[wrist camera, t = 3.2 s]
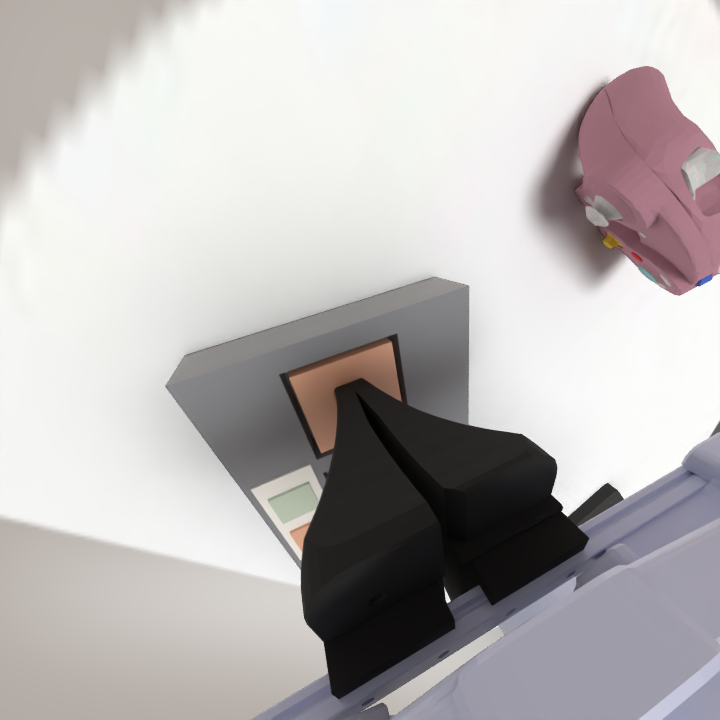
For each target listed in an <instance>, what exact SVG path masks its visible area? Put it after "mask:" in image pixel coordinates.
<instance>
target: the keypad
mask: <svg viewBox="0 0 720 720" xmlns="http://www.w3.org/2000/svg"><path fill="white" fill-rule="evenodd" d="M385 337H387V338H388V339H389V340H390V341H391V342H392V346H393V352H394V358H395V365H396V371H397V377H398V383H399V389H400V395H401V401H402V402H403V403H405V404H407V405H409V406H411V407H414V408H416V409H418V410H421V411H423V412H426V413H428V414H431V415H434V416H437V417H440V418H443V419H447V420H450V421H454V422H457V423H461V424H465V425H468V383H469V286H468V285H465V284H461V283H457V282H453V281H449V280H445V279H442V278H438V277H433V278H430V279H427V280H424V281H420V282H417V283H414V284H411V285H408V286H405V287H401V288H398V289H395V290H392V291H389V292H386V293H382V294H379V295H376V296H373V297H370V298H366V299H363V300H360V301H357V302H354V303H351V304H347V305H344V306H341V307H338V308H335V309H332V310H328V311H325V312H322V313H319V314H316V315H312V316H309V317H306V318H303V319H300V320H297V321H293V322H290V323H287V324H284V325H281V326H278V327H274V328H271V329H268V330H265V331H262V332H259V333H255V334H252V335H249V336H246V337H243V338H239V339H236V340H233V341H230V342H227V343H224V344H220V345H217V346H214V347H211V348H208V349H205V350H201V351H198V352H195V353H192V354H189V355H185V356H184V358H183V359H182V361H181V362H180V364H179V365H178V367H177V369H176V370H175V372H174V373H173V375H172V376H171V378H170V380H169V381H168V383H167V384H166V386H165V387H166V388H167V389H168V391H169V392H170V393H171V395H172V396H173V398H174V399H175V400H176V402H177V403H178V404H179V406H180V407H181V408H182V410H183V411H184V412H185V414H186V415H187V417H188V418H189V419H190V421H191V422H192V423H193V425H194V426H195V427H196V429H197V430H198V431H199V433H200V434H201V435H202V437H203V438H204V440H205V441H206V442H207V444H208V445H209V446H210V448H211V449H212V450H213V452H214V453H215V454H216V456H217V457H218V459H219V460H220V461H221V463H222V464H223V465H224V467H225V468H226V469H227V471H228V472H229V473H230V475H231V476H232V477H233V479H234V480H235V482H236V483H237V484H238V486H239V487H240V488H241V490H242V491H243V492H244V494H245V495H246V496H247V498H248V499H249V501H250V502H251V503H252V505H253V506H254V507H255V509H256V510H257V511H258V513H259V514H260V515H261V517H262V518H263V519H264V521H265V522H266V524H267V525H268V526H269V528H270V529H271V530H272V532H273V533H274V534H275V536H276V537H277V538H278V540H279V541H280V543H281V544H282V545H283V547H284V548H285V549H286V551H287V552H288V553H289V555H290V556H291V557H292V559H293V560H294V561H295V563H296V564H297V566H298V567H299V568H300V570H301V561H302V550H303V541H304V537H305V535H306V532H307V530H308V527H309V525H310V523H311V520H312V518H313V516H314V513H315V511H316V508H317V506H318V503H319V500H320V497H321V494H322V491H323V488H324V485H325V482H326V479H327V476H328V472H329V468H330V464H331V460H332V455H333V450H334V448H333V449H330V450H328V451H326V452H323V453H321V452H320V450H319V447H318V445H317V442H316V440H315V438H314V435H313V433H312V431H311V428H310V426H309V424H308V421H307V419H306V417H305V414H304V412H303V410H302V407H301V405H300V403H299V400H298V398H297V395H296V393H295V391H294V388H293V386H292V384H291V381H290V379H289V374H288V371H291V370H294V369H296V368H299V367H302V366H305V365H308V364H311V363H314V362H316V361H319V360H322V359H325V358H328V357H331V356H334V355H336V354H339V353H342V352H345V351H348V350H351V349H354V348H356V347H359V346H362V345H365V344H368V343H371V342H374V341H376V340H379V339H382V338H385Z"/></svg>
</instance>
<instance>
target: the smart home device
mask: <svg viewBox="0 0 720 720" xmlns="http://www.w3.org/2000/svg"><path fill="white" fill-rule="evenodd" d="M623 500H624V499H623V497H622V496H621V494H620V493H619V492H618V490H617V489H615V488H614V487H612V486H611V485H610V484H608V483H607V484H605V485H604V486H602V487H601V488H600V489H599V490H598V491H597V492H596V493H594V494H593V495H592V496H591V497H590V498H589V499H588V500H587V501H585V502H584V503H583V504H582V505H581V506H580V507H579V508H578V509H576V510H575V511H574V512H573V513H572V514H571V515H570V516H569V517H568V518H569V519H570V520H571V521H572V522H573V523H574V524H575V525H576V526H577V527H578V526H580V525H582V524H583V523H585V522H587V521H589V520H590V519H592V518H594V517H595V516H597V515H599V514H600V513H602V512H604V511H606V510H607V509H609V508H611V507H612V506H614V505H616V504H617V503H619V502H621V501H623Z"/></svg>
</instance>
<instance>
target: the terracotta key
mask: <svg viewBox="0 0 720 720" xmlns="http://www.w3.org/2000/svg"><path fill="white" fill-rule="evenodd" d="M288 374H289V379H290V381H291V384H292V386H293V388H294V391H295V393H296V395H297V398H298V400H299V403H300V405H301V407H302V410H303V412H304V414H305V417H306V419H307V421H308V424H309V426H310V428H311V431H312V433H313V435H314V438H315V440H316V442H317V445H318V447H319V450H320V452H321V453H323V452H326V451H328V450H330V449H333V448H334V444H335V438H336V427H337V400H336V395H335V392H334V390H335V388H336V387H339V386H341V385H344V384H347V383H349V382H352V381H355V380H357V379H360V378H363V379H365V380H366V381H368V382H369V383H371V384H372V385H374V386H375V387H377V388H378V389H380V390H382V391H383V392H385V393H387V394H388V395H390V396H392V397H394V398H395V399H397V400H399V401H401V395H400V389H399V383H398V377H397V371H396V365H395V358H394V352H393V346H392V342H391V341H390V340H389V339H388V338H387V337H385V338H382V339H379V340H376V341H374V342H371V343H368V344H365V345H362V346H359V347H356V348H354V349H351V350H348V351H345V352H342V353H339V354H336V355H334V356H331V357H328V358H325V359H322V360H319V361H316V362H314V363H311V364H308V365H305V366H302V367H299V368H296V369H294V370H291V371H288ZM401 402H402V401H401Z"/></svg>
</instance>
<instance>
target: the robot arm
mask: <svg viewBox="0 0 720 720" xmlns="http://www.w3.org/2000/svg"><path fill="white" fill-rule="evenodd" d="M334 392H335V395H336V400H337V427H336V438H335V444H334V450H333V455H332V460H331V464H330V468H329V472H328V476H327V479H326V482H325V485H324V488H323V491H322V494H321V497H320V500H319V503H318V506H317V508H316V511H315V513H314V516H313V518H312V520H311V523H310V525H309V527H308V530H307V532H306V535H305V537H304V541H303V550H302V561H301V593H302V603H303V613H304V619H305V621H306V623H307V625H308V626H309V627H310V628H311V629H312V630H313V631H314V632H315V633H316V634H317V635H318V636H319V638H321V640H322V641H323V642H324V647H325V654H326V660H327V667H328V674H327V675H325V676H323V677H321V678H320V679H318V680H316V681H314V682H313V683H311V684H309V685H308V686H306V687H304V688H302V689H301V690H299V691H297V692H296V693H294V694H292V695H291V696H289V697H287V698H285V699H284V700H282V701H280V702H279V703H277V704H276V705H274V706H272V707H270V708H268V709H267V710H265V711H263V712H262V713H260V714H258V715H257V716H255V717H253V718H251V719H250V720H720V432H719V433H717V434H715V435H714V436H712V437H710V438H708V439H707V440H705V441H703V442H701V443H700V444H698V445H697V446H695V447H694V448H693V449H692V450H691V451H690V452H689V453H688V454H687V455H686V457H685V458H684V460H683V462H682V466H680V467H679V468H677V469H675V470H674V471H672V472H670V473H669V474H667V475H665V476H663V477H662V478H660V479H658V480H657V481H655V482H653V483H652V484H650V485H648V486H646V487H645V488H643V489H641V490H640V491H638V492H636V493H634V494H633V495H631V496H629V497H628V498H626V499H624V500H623V501H621V502H619V503H617V504H616V505H614V506H612V507H611V508H609V509H607V510H606V511H604V512H602V513H600V514H599V515H597V516H595V517H594V518H592V519H590V520H589V521H587V522H585V523H583V524H582V525H580V526H578V527H577V526H576V525H575V524H574V523H573V522H572V521H571V520H570V519H569V518H568V517H567V516H566V515H565V514H563V513H562V512H561V511H562V509H563V506H562V504H561V503H560V502H558V501H557V500H556V499H555V498H554V497H553V496H552V495H551V493H552V489H553V486H554V482H555V479H556V475H557V464H556V461H555V459H554V458H553V457H551V456H550V455H549V454H548V453H546V452H545V451H544V450H543V449H541V448H540V447H539V446H538V445H536V444H535V443H534V442H532V441H531V440H530V439H528V438H527V437H525V436H524V435H522V434H517V433H510V432H503V431H496V430H489V429H484V428H479V427H474V426H470V425H465V424H461V423H457V422H454V421H450V420H447V419H443V418H440V417H437V416H434V415H431V414H428V413H426V412H423V411H421V410H418V409H416V408H414V407H411V406H409V405H407V404H405V403H403V402H401V401H399V400H397V399H395V398H394V397H392V396H390V395H388V394H387V393H385V392H383V391H382V390H380V389H378V388H377V387H375V386H374V385H372V384H371V383H369V382H368V381H366V380H365V379H363V378H360V379H357V380H355V381H352V382H349V383H347V384H344V385H341V386H339V387H336V388H335V390H334ZM583 571H584V572H583ZM581 572H582V573H581ZM580 573H581V574H580ZM578 574H580V575H579V576H578V577H577V578H576V577H575V576H577V575H578ZM444 587H445V589H446V591H447V593H448V595H449V598H450V600H451V602H449V603H446V600H445V591H444ZM496 626H499V627H500V629H501V630H502V632H503V633H504V635H505V636H503V637H502V638H500V639H499V640H497V641H496V642H495V643H493V644H492V645H490V646H489V647H487V648H486V649H484V650H483V651H481V652H480V653H479V654H477V655H476V656H474V657H473V658H472V659H470V660H469V661H468V662H466V663H465V664H463V665H462V666H461V667H459V668H458V669H457V670H455V671H454V672H453V673H451V674H450V675H449V676H447V677H446V678H444V679H443V680H442V681H440V682H439V683H438V684H436V685H435V686H434V687H432V688H431V689H430V690H429V691H427V692H426V693H424V694H423V695H422V696H420V697H419V698H418V699H416V700H415V701H414V702H412V703H411V704H410V705H409V706H407V707H406V708H405V709H403V710H402V711H401V712H399V713H398V714H397V715H392V716H391V715H389V712H388V708H387V706H386V705H385V704H384V703H380V704H378V705H376V706H374V707H371V708H369V709H367V710H365V709H366V708H368V707H369V706H371V705H372V704H374V703H376V702H377V701H379V700H380V699H382V698H384V697H385V696H387V695H388V694H390V693H391V692H393V691H395V690H396V689H398V688H399V687H401V686H403V685H404V684H406V683H407V682H409V681H410V680H412V679H414V678H415V677H417V676H418V675H420V674H422V673H423V672H425V671H426V670H428V669H429V668H431V667H433V666H434V665H436V664H437V663H439V662H441V661H442V660H444V659H445V658H447V657H448V656H450V655H451V654H453V653H454V652H456V651H458V650H460V649H461V648H463V647H464V646H466V645H467V644H469V643H471V642H472V641H474V640H475V639H477V638H479V637H480V636H482V635H483V634H485V633H486V632H488V631H490V630H491V629H493V628H494V627H496ZM363 710H364V711H363ZM361 711H362V712H361Z"/></svg>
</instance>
